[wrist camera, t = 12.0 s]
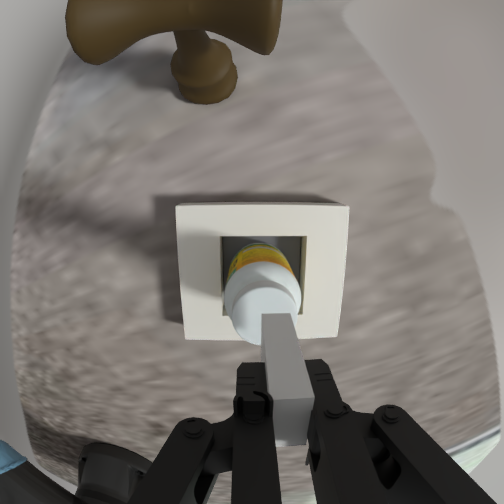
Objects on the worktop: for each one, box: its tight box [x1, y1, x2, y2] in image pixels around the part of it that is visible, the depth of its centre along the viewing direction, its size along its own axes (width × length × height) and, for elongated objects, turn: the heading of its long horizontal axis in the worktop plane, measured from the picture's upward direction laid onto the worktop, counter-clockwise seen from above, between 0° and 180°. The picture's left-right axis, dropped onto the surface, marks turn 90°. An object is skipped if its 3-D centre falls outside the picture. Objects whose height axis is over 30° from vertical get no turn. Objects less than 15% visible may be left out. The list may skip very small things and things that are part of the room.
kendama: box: [65, 0, 282, 105], centre depth 13 cm, size 6×10×20 cm, turn 89°
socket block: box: [175, 202, 349, 340], centre depth 26 cm, size 14×12×2 cm
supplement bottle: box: [224, 243, 301, 345], centre depth 22 cm, size 5×5×10 cm
